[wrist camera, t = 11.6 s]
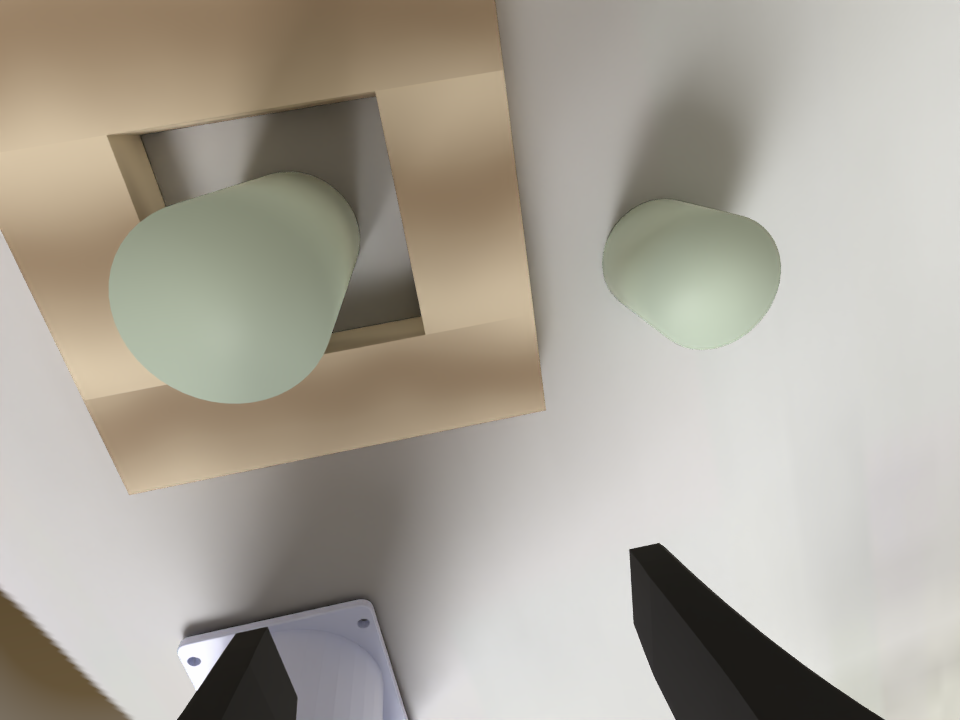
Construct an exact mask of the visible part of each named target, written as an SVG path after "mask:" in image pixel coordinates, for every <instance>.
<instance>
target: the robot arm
mask: <svg viewBox="0 0 960 720" xmlns="http://www.w3.org/2000/svg"><path fill="white" fill-rule="evenodd" d="M629 551H630V568H631V585H632V602H633V620H634V625H635V628H636V631H637V633H638V636H639V639H640V641H641V644H642V647H643V649H644V652H645V655H646V657H647V660H648V662H649V665H650V667H651V670H652V673H653V675H654V677H655V679H656V681H657V683H658V685H659V687H660V689H661V691H662V693H663V695H664V697H665V699H666V701H667V703H668V705H669V707H670V709H671V711H672V713H673V715H674V717H675V719H676V720H884V719H883V718H881V717H880V716H878V715H876V714H875V713H873V712H872V711H870V710H869V709H867V708H865V707H864V706H862V705H861V704H859V703H858V702H856V701H855V700H853V699H852V698H850V697H849V696H848V695H846V694H845V693H843V692H842V691H840V690H839V689H837V688H836V687H834V686H833V685H831V684H830V683H828V682H827V681H826V680H824V679H823V678H821V677H820V676H819V675H817V674H816V673H814V672H813V671H812V670H810V669H809V668H807V667H806V666H805V665H803V664H802V663H801V662H799V661H798V660H797V659H795V658H794V657H793V656H791V655H790V654H789V653H787V652H786V651H785V650H783V649H782V648H781V647H780V646H778V645H777V644H776V643H774V642H773V641H772V640H771V639H769V638H768V637H767V636H765V635H764V634H763V633H762V632H760V631H759V630H758V629H757V628H755V627H754V626H753V625H752V624H751V623H749V622H748V621H747V620H746V619H745V618H743V617H742V616H741V615H740V614H739V613H737V612H736V611H735V610H734V609H733V608H731V607H730V606H729V605H728V604H727V603H725V602H724V601H723V600H722V599H721V598H720V597H719V596H717V595H716V594H715V593H714V592H713V591H712V590H711V589H709V588H708V587H707V586H706V585H705V584H704V583H703V582H702V581H701V580H699V579H698V578H697V577H696V576H695V575H694V574H693V573H692V572H691V571H690V570H688V569H687V568H686V567H685V566H684V565H683V564H682V563H681V562H680V561H679V560H678V559H677V558H676V557H675V556H674V555H672V554H671V553H670V552H669V551H668V550H667V549H666V548H665V547H664V546H663V545H661V544H660V543H657V544H653V545H648V546H643V547H639V548H634V549H629ZM361 619H367V620H366V621H361ZM177 654H178V656H179V658H180V660H181V662H182V664H183V666H184V668H185V670H186V672H187V674H188V676H189V678H190V679H191V681H192V683H193V685H194V687H195V689H196V693H195V694H194V696H193V697H192V699H191V700H190V702H189V703H188V705H187V706H186V708H185V709H184V711H183V712H182V714H181V715H180V716H179V718H178V719H177V720H408V718H407V715H406V711H405V708H404V705H403V702H402V698H401V695H400V692H399V689H398V686H397V682H396V679H395V676H394V673H393V669H392V666H391V663H390V660H389V656H388V653H387V650H386V647H385V643H384V640H383V637H382V634H381V630H380V627H379V624H378V621H377V617H376V614H375V611H374V608H373V605H372V603H371V602H369V601H368V600H364V599H359V600H354V601H349V602H345V603H340V604H336V605H331V606H327V607H322V608H318V609H313V610H309V611H304V612H299V613H295V614H290V615H286V616H281V617H277V618H272V619H268V620H263V621H259V622H254V623H250V624H245V625H240V626H236V627H231V628H227V629H222V630H218V631H213V632H209V633H204V634H200V635H195V636H191V637H187V638H184V639H183V640H182V641H181V642H180V645H179V647H178V650H177ZM195 657H197V658H195Z"/></svg>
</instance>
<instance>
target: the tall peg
mask: <svg viewBox="0 0 960 720" xmlns="http://www.w3.org/2000/svg"><path fill="white" fill-rule="evenodd" d="M359 247H360V234H359V228H358V224H357V220H356V218H355V215H354V213H353V211H352V209H351V207H350V205H349V204H348V203H347V201H346V200H345V199H344V197H343V196H342V195H341V194H340V193H339V192H338V191H337V190H336V189H334V188H333V187H332V186H331V185H329V184H328V183H326V182H325V181H323V180H321V179H319V178H317V177H314V176H311V175H309V174H305V173H300V172H278V173H273V174H270V175H266V176H263V177H260V178H257V179H253V180H250V181H247V182H244V183H241V184H237V185H234V186H231V187H228V188H225V189H221V190H218V191H215V192H212V193H208V194H205V195H202V196H199V197H196V198H192V199H189V200H186V201H183V202H180V203H176V204H173V205H171V206H168V207H165V208H162V209H160V210H158V211H156V212H155V213H153V214H151V215H149V216H148V217H146V218H145V219H144V220H142V221H141V222H140V223H138V224H137V225H136V226H135V227H134V228H133V229H132V230H131V231H130V232H129V234H128V235H127V236H126V238H125V239H124V240H123V242H122V243H121V245H120V247H119V249H118V251H117V253H116V255H115V257H114V260H113V263H112V267H111V270H110V277H109V301H110V308H111V312H112V316H113V319H114V322H115V325H116V327H117V329H118V332H119V334H120V336H121V338H122V339H123V341H124V343H125V344H126V346H127V347H128V349H129V350H130V352H131V353H132V354H133V355H134V357H135V358H136V359H137V360H138V361H139V362H140V363H141V364H142V365H143V366H144V367H145V368H146V369H147V370H148V371H149V372H150V373H152V374H153V375H154V376H155V377H157V378H158V379H159V380H161V381H162V382H164V383H166V384H167V385H169V386H170V387H172V388H174V389H176V390H178V391H180V392H182V393H185V394H187V395H190V396H193V397H196V398H199V399H203V400H207V401H211V402H218V403H228V404H242V403H252V402H257V401H262V400H266V399H269V398H272V397H275V396H278V395H280V394H282V393H284V392H286V391H288V390H290V389H291V388H293V387H294V386H296V385H297V384H299V383H300V382H301V381H302V380H303V379H305V378H306V377H307V376H308V375H309V374H310V373H311V372H312V370H313V369H314V368H315V367H316V366H317V364H318V363H319V361H320V359H321V358H322V356H323V354H324V352H325V350H326V348H327V346H328V343H329V340H330V337H331V334H332V331H333V328H334V325H335V322H336V320H337V317H338V314H339V311H340V308H341V305H342V302H343V299H344V296H345V293H346V290H347V287H348V284H349V281H350V278H351V275H352V272H353V269H354V267H355V264H356V261H357V257H358V254H359Z"/></svg>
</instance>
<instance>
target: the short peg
mask: <svg viewBox="0 0 960 720" xmlns="http://www.w3.org/2000/svg"><path fill="white" fill-rule="evenodd" d="M602 268H603V275H604V278H605V282H606V284H607V286H608V288H609V290H610V292H611V293H612V294H613V296H614V297H615V298H616V299H617V300H618V301H620V302H621V303H622V304H623V305H625V306H626V307H627V308H629V309H630V310H631V311H632V312H634V313H635V314H636V315H638V316H639V317H640V318H642V319H643V320H644V321H646V322H647V323H648V324H649V325H651V326H652V327H653V328H655V329H656V330H657V331H659V332H660V333H661V334H663V335H664V336H665V337H667V338H668V339H669V340H671V341H672V342H674V343H675V344H678V345H680V346H682V347H685V348H689V349H696V350H708V349H715V348H719V347H723V346H725V345H728V344H730V343H732V342H734V341H736V340H738V339H740V338H741V337H743V336H744V335H746V334H747V333H748V332H749V331H751V330H752V329H753V328H754V327H755V326H756V325H757V324H758V323H759V322H760V321H761V319H762V318H763V317H764V316H765V314H766V313H767V311H768V310H769V308H770V306H771V304H772V302H773V300H774V298H775V296H776V293H777V290H778V286H779V282H780V274H781V263H780V256H779V252H778V249H777V246H776V244H775V242H774V240H773V238H772V237H771V235H770V234H769V233H768V232H767V230H766V229H765V228H764V227H762V226H761V225H760V224H759V223H757V222H755V221H754V220H752V219H750V218H747V217H744V216H740V215H736V214H732V213H728V212H724V211H720V210H715V209H711V208H707V207H703V206H699V205H694V204H690V203H686V202H682V201H678V200H672V199H657V200H652V201H648V202H645V203H643V204H640V205H639V206H637V207H635V208H633V209H632V210H630V211H629V212H628V213H627V214H625V215H624V216H623V217H622V218H621V219H620V220H619V222H618V223H617V224H616V225H615V227H614V228H613V230H612V231H611V233H610V235H609V237H608V239H607V242H606V244H605V248H604V252H603V260H602Z"/></svg>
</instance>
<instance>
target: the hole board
mask: <svg viewBox="0 0 960 720" xmlns="http://www.w3.org/2000/svg"><path fill="white" fill-rule="evenodd" d="M374 96H376V98H377V103H378V107H379V112H380V117H381V122H382V127H383V132H384V136H385V141H386V146H387V151H388V156H389V161H390V166H391V170H392V175H393V180H394V185H395V190H396V195H397V199H398V204H399V209H400V214H401V219H402V224H403V228H404V233H405V238H406V243H407V248H408V253H409V257H410V262H411V267H412V272H413V277H414V282H415V287H416V291H417V296H418V301H419V306H420V311H421V316H420V317H415V318H410V319H405V320H399V321H394V322H389V323H384V324H378V325H373V326H368V327H362V328H357V329H352V330H347V331H341V332H336V333H332V334H331V337H330V340H329V343H328V346H327V348H326V350H325V352H324V354H323V356H322V358H321V359H320V361H319V363H318V364H317V366H316V367H315V368H314V369H313V370H312V372H311V373H310V374H309V375H308V376H307V377H306V378H305V379H303V380H302V381H301V382H300V383H299V384H297V385H296V386H294V387H293V388H291V389H290V390H288V391H286V392H284V393H282V394H280V395H278V396H275V397H272V398H269V399H266V400H262V401H257V402H252V403H242V404H228V403H218V402H211V401H207V400H203V399H199V398H196V397H193V396H190V395H187V394H185V393H182V392H180V391H178V390H176V389H174V388H172V387H170V386H169V385H167V384H166V383H164V382H162V381H161V380H159V379H158V378H157V377H155V376H154V375H153V374H152V373H150V372H149V371H148V370H147V369H146V368H145V367H144V366H143V365H142V364H141V363H140V362H139V361H138V360H137V359H136V358H135V357H134V355H133V354H132V353H131V352H130V350H129V349H128V347H127V346H126V344H125V343H124V341H123V339H122V338H121V336H120V334H119V332H118V329H117V327H116V325H115V322H114V319H113V316H112V312H111V308H110V301H109V277H110V270H111V267H112V263H113V260H114V257H115V255H116V253H117V251H118V249H119V247H120V245H121V243H122V242H123V240H124V239H125V238H126V236H127V235H128V234H129V232H130V231H131V230H132V229H133V228H134V227H135V226H136V225H137V224H138V223H140V222H141V221H142V220H144V219H145V218H146V217H148V216H149V215H151V214H153V213H155V212H156V211H158V210H160V209H162V208H165V207H166V206H165V203H164V201H163V198H162V195H161V193H160V190H159V187H158V184H157V182H156V179H155V176H154V173H153V171H152V168H151V165H150V162H149V160H148V157H147V154H146V151H145V149H144V146H143V143H142V140H141V138H140V135H143V134H149V133H155V132H161V131H167V130H173V129H179V128H185V127H191V126H197V125H204V124H210V123H216V122H222V121H228V120H234V119H240V118H246V117H252V116H258V115H264V114H270V113H277V112H283V111H289V110H295V109H301V108H307V107H313V106H319V105H325V104H331V103H337V102H343V101H350V100H356V99H362V98H368V97H374ZM0 229H1V232H2V234H3V236H4V238H5V240H6V242H7V244H8V246H9V248H10V250H11V252H12V254H13V256H14V258H15V260H16V262H17V265H18V267H19V269H20V271H21V273H22V275H23V277H24V279H25V281H26V283H27V285H28V287H29V289H30V291H31V293H32V295H33V298H34V300H35V302H36V304H37V306H38V308H39V310H40V312H41V314H42V316H43V318H44V320H45V322H46V324H47V326H48V328H49V330H50V333H51V335H52V337H53V339H54V341H55V343H56V345H57V347H58V349H59V351H60V353H61V355H62V357H63V359H64V361H65V363H66V366H67V368H68V370H69V372H70V374H71V376H72V378H73V380H74V382H75V384H76V386H77V388H78V390H79V392H80V394H81V396H82V399H83V401H84V403H85V405H86V407H87V409H88V411H89V413H90V415H91V417H92V419H93V421H94V423H95V425H96V427H97V429H98V432H99V434H100V436H101V438H102V440H103V442H104V444H105V446H106V448H107V450H108V452H109V454H110V456H111V458H112V460H113V462H114V465H115V467H116V469H117V471H118V473H119V475H120V477H121V479H122V481H123V483H124V485H125V487H126V489H127V491H128V493H129V495H132V494H137V493H142V492H147V491H152V490H156V489H161V488H166V487H171V486H176V485H181V484H186V483H191V482H196V481H201V480H206V479H211V478H215V477H220V476H225V475H230V474H235V473H240V472H245V471H250V470H255V469H260V468H265V467H269V466H274V465H279V464H284V463H289V462H294V461H299V460H304V459H309V458H314V457H319V456H324V455H328V454H333V453H338V452H343V451H348V450H353V449H358V448H363V447H368V446H373V445H378V444H382V443H387V442H392V441H397V440H402V439H407V438H412V437H417V436H422V435H427V434H432V433H437V432H441V431H446V430H451V429H456V428H461V427H466V426H471V425H476V424H481V423H486V422H491V421H495V420H500V419H505V418H510V417H515V416H520V415H525V414H530V413H535V412H540V411H545V410H546V408H545V400H544V391H543V383H542V375H541V367H540V359H539V351H538V343H537V335H536V327H535V319H534V311H533V303H532V295H531V287H530V279H529V270H528V262H527V254H526V246H525V238H524V230H523V222H522V214H521V206H520V198H519V190H518V182H517V174H516V166H515V158H514V149H513V141H512V133H511V125H510V117H509V109H508V101H507V93H506V85H505V77H504V69H503V61H502V53H501V45H500V36H499V28H498V20H497V12H496V4H495V0H0Z"/></svg>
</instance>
